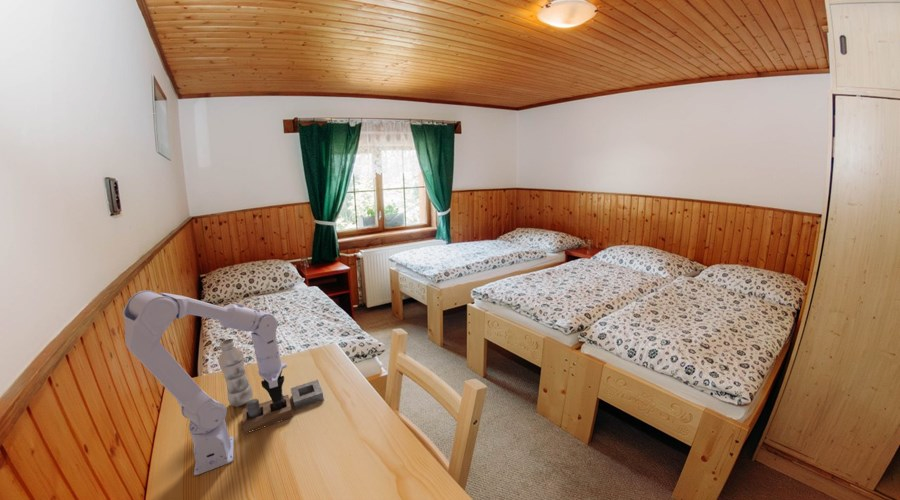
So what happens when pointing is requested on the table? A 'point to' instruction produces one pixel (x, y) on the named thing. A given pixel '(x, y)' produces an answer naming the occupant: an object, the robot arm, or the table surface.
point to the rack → (269, 417)
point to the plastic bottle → (234, 373)
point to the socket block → (308, 398)
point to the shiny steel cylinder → (279, 404)
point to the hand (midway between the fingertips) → (276, 397)
